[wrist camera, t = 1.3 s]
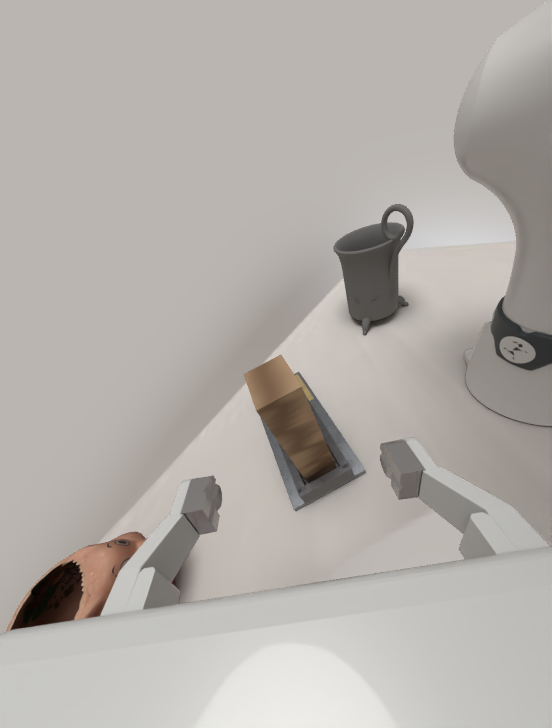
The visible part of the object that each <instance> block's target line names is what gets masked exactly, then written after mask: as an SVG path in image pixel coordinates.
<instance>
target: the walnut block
mask: <svg viewBox="0 0 552 728" xmlns="http://www.w3.org/2000/svg"><path fill="white" fill-rule="evenodd" d="M244 377H245V380H246V383H247V385H248V388H249V391H250V394H251V397H252V400H253V403H254V405H255V408H256V411H257V412H258V414H259V415H260V417H261V418H262V419H263V421H264V422H265V424H266V425H267V426H268V428H269V429H270V431H271V432H272V433H273V435H274V436H275V438H276V439H277V440H278V442H279V443H280V445H281V446H282V447H283V449H284V450H285V452H286V453H287V454H288V456H289V457H290V459H291V460H292V461H293V463H294V464H295V466H296V467H297V468H298V470H299V471H300V473H301V474H302V475H303V477H304V478H305V480H306V481H307V483H308V484H309V483H310V482H312V481H314V480H316V479H318V478H320V477H321V476H323V475H325V474H327V473H329V472H331V471H332V470H334V469H336V468H337V467H336V464H335V462H334V460H333V457H332V455H331V453H330V451H329V448H328V446H327V444H326V441H325V439H324V437H323V434H322V432H321V430H320V428H319V425H318V423H317V421H316V418H315V416H314V414H313V411H312V409H311V407H310V405H309V402H308V400H307V398H306V395H305V393H304V391H303V388H302V386H301V385H300V383H299V382H298V380H297V378H296V377H295V375H294V374H293V372H292V371H291V369H290V368H289V366H288V364H287V363H286V361H285V360H284V358H283V357H282V355H279V356H278V357H276V358H274V359H272V360H270V361H268V362H266V363H264V364H262V365H261V366H259V367H257V368H255V369H253V370H251V371H249V372H247V373H245V374H244Z"/></svg>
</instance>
